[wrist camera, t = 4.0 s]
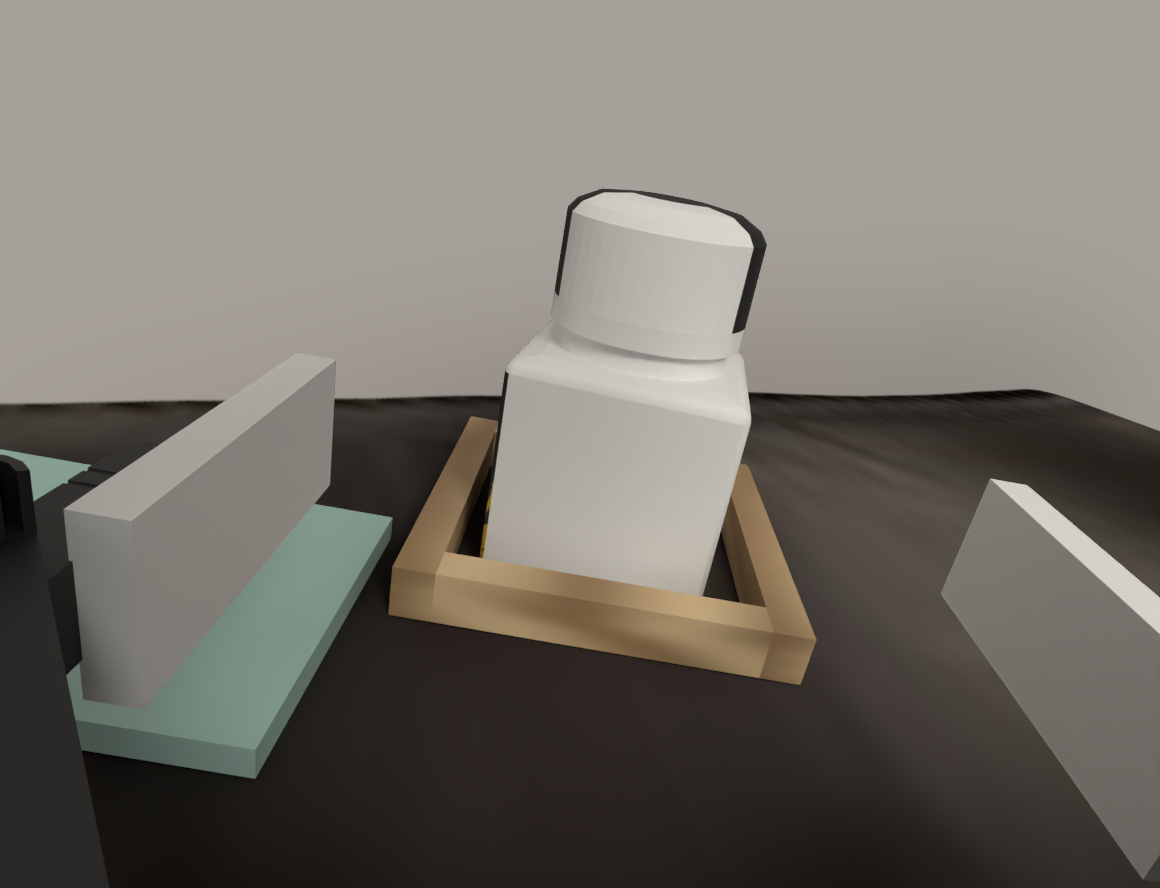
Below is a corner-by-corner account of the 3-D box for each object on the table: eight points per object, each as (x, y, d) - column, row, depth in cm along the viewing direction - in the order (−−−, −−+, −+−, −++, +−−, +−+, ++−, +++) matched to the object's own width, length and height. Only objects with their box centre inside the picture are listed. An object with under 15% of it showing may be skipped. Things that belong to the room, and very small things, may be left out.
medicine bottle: (527, 482, 30) (576, 173, 26) (700, 522, 30) (782, 212, 25) (474, 572, 24) (528, 180, 19) (695, 627, 23) (805, 233, 19)
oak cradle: (738, 498, 32) (747, 465, 32) (800, 685, 21) (816, 640, 21) (466, 450, 32) (471, 416, 31) (388, 614, 21) (392, 566, 20)
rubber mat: (390, 538, 25) (392, 517, 24) (255, 778, 16) (255, 749, 15) (-3, 470, 24) (-6, 448, 24) (-380, 673, 15) (-392, 641, 15)
